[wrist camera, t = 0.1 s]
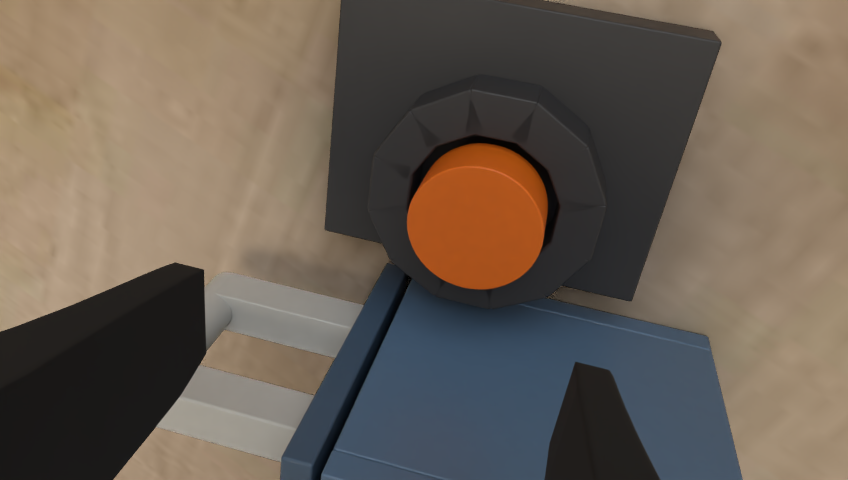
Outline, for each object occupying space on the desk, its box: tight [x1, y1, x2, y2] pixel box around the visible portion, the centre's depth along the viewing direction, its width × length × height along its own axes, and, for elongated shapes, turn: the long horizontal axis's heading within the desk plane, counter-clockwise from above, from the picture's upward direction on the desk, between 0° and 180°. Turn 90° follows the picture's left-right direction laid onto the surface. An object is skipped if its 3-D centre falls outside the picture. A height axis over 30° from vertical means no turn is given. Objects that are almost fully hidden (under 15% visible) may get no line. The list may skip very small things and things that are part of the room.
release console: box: [325, 0, 721, 309], centre depth 20 cm, size 8×10×3 cm
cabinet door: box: [156, 263, 407, 480], centre depth 23 cm, size 6×14×9 cm, turn 172°
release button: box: [407, 143, 548, 290], centre depth 18 cm, size 4×4×2 cm
